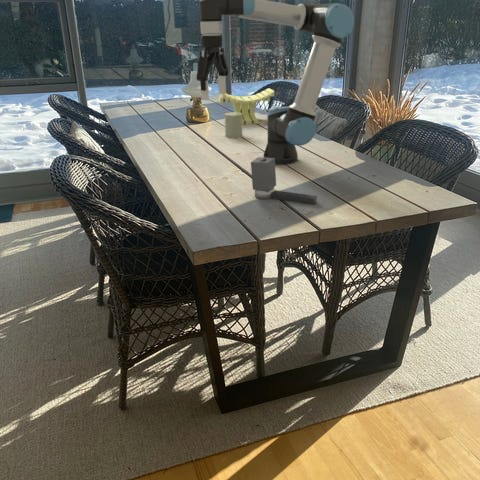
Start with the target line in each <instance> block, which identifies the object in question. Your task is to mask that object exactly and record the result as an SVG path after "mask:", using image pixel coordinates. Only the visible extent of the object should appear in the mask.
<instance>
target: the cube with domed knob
mask: <svg viewBox="0 0 480 480" xmlns="http://www.w3.org/2000/svg"><path fill="white" fill-rule="evenodd" d="M250 169H251V170H250V171H251V182H252V183H251V184H252V191H253V190H254V191H255V190H265V191H270V190H271V189H272V188H273V187H274V188H275V187H276V186H277V175H276V164H275V158H263V157H257V158H255V159H254V160H252V161H251V162H250Z"/></svg>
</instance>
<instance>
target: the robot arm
mask: <svg viewBox="0 0 480 480" xmlns="http://www.w3.org/2000/svg"><path fill="white" fill-rule="evenodd" d="M198 4H199V6H198V7H199V17H200V18H199V19H200V24H199V28H200V34H202V35H201V36H200V43H201V44H200V45H201V47H202V48H204V50H200V51H199V60H198V67H197V72H196V80H197V82H200V83H199V84H200V99H201V101H203V100H204V101H209V100H210V94H209V93H210V92H209V80H208V76H209V73H210V71H211V67H212V65H213V64H214V66H215V68H216V71H217V72H218V76H217V81H218V85H217V86H218V87H217V88H218V95H219V94H226V93H227V92H226V91H227V89H226V87H227V86H226V85H227V84H226V82H227V81H226V76H227V77H228V76H229V69H228V65H227V61H226V60H227V59H226V57H225V49H224V47H222V46H223V36H222V35H221V34H223V23H222V22H223V20H222V19H223V18H222V17H224V16H225V17H226V16H228V17H233V18H241V19H245V20H246V19H247V20H251V21H253V20H254V21H258V22H265V23H270V24H271V23H272V24H276V25H283V26H287V27H288V26H289V27H293V28H294V29H295V30H296V31H303V32H305V33H308V34H311V38H312V40H313V45H312V48H311V51H310V54H309V56H308V60H307V61H306V62H307V63H306V66H305V68H304V71H303V74H302V78H301V80H300V83H299V86H298V90H297V91H296V92H297V93H296V95H295V97H294V100H293V103H292V104H290V105H289V106H287V105H286V106H274V107H271V108H268V110H267V117H266V118H267V143H266V147H265V150H264V152H263V157H262V158H275V165H289V164H294V163H296V162H298V160H299V159H298V158H299V155H298V151H297V148H296V146H299V147H302V146H306V145H307V144H308V143H310V142H311V141H312V140H313V138H314V137H315V135H316V130H317V126H316V124H315V120H316V117H317V114H316V112H315V107H316V105H317V102H318V99H319V96H320V93H321V90H322V87H323V85H324V82H325V79H326V77H327V75H328V74H327V73H328V70H329V68H330V65H331V63H332V59H333V57H334V53H335V50H336V49H338V48H339V47H341V45H342V43H343V40H344V38H346V37H347V36H348V35H350V34H351V33H352V31H353V29H354V23H355V19H354V18H355V17H354V14H353V12H352V10H351V8H350V7H349V6H347V5H346V4H344V3H339V2H333V3H318V4H317V3H315V4H306V3H299V4H298V5H294V4H289V3H284V2H279V1H278V2H277V1H273V0H198Z"/></svg>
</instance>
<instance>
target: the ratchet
mask: <svg viewBox="0 0 480 480" xmlns="http://www.w3.org/2000/svg"><path fill="white" fill-rule="evenodd" d="M254 197H255V198H256V199H257V200H270V199H273V200H279V201H286V202H292V201H293V203H294V202H295V203H299V202H300V203H302V204H305V205H306V204H307V205H313V206H314V205H315V204H317V200H318V199H317V198H318V196H317V195H312V194H305V193H298V192H292V191H291V192H290V191H283V190H282V191H281V190H275V187H273V188H272V189H271V190H270V191H265V190H254Z"/></svg>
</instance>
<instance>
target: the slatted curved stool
mask: <svg viewBox="0 0 480 480" xmlns="http://www.w3.org/2000/svg"><path fill="white" fill-rule="evenodd" d="M271 97H275V90H274V89H271V88H266V89H264V90H262V91H260V92H258V93H256V94H253V95H247V96H238V95H232V94H228V92H226V94H219V93H218V102H219V104H223V103H230V104H231V105H233V108H234V112H239V113H242V125H252V124H255V125H256V124H260V121H259V119H258V118H257V117H256V115H255V110H256V107H257V104H258V103H260V102H263V101H264V102H265V101H267V102H271Z"/></svg>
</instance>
